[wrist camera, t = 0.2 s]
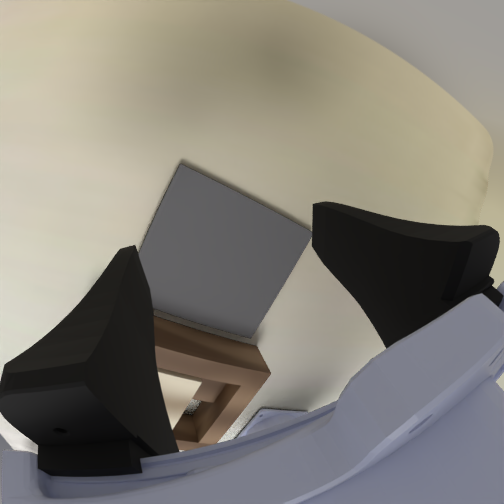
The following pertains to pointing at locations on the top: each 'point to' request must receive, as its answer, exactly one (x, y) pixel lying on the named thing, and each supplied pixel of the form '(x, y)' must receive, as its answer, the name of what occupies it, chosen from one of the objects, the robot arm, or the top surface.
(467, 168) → the top surface
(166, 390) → the birch tile
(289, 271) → the charcoal mat
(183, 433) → the walnut frame
